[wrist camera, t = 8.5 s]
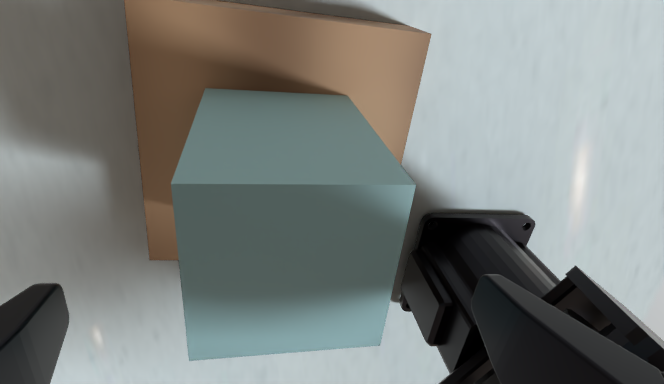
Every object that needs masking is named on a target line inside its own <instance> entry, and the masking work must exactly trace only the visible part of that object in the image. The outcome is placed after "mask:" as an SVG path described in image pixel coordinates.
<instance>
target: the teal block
mask: <svg viewBox="0 0 664 384" xmlns="http://www.w3.org/2000/svg"><path fill="white" fill-rule="evenodd" d="M415 188H416V184H415V183H414V182H413V180H412V179H411V178H410V176H409V175H408V174H407V172H406V171H405V170H404V168H403V167H402V166H401V165H400V163H399V162H398V161H397V159H396V158H395V157H394V155H393V154H392V153H391V152H390V150H389V149H388V148H387V146H386V145H385V144H384V142H383V141H382V140H381V138H380V137H379V136H378V135H377V133H376V132H375V131H374V129H373V128H372V127H371V125H370V124H369V123H368V121H367V120H366V119H365V118H364V116H363V115H362V114H361V112H360V111H359V110H358V108H357V107H356V106H355V105H354V103H353V102H352V101H351V99H350V98H349V97H348V96H346V95H326V94H307V93H288V92H269V91H249V90H230V89H211V88H205V90H204V93H203V96H202V99H201V102H200V104H199V107H198V110H197V113H196V115H195V118H194V121H193V124H192V126H191V129H190V132H189V135H188V138H187V140H186V143H185V146H184V149H183V151H182V154H181V157H180V160H179V162H178V165H177V168H176V171H175V174H174V176H173V179H172V182H171V190H172V200H173V210H174V219H175V229H176V239H177V249H178V258H179V268H180V278H181V287H182V297H183V307H184V316H185V326H186V336H187V346H188V355H189V361H193V360H206V359H218V358H231V357H243V356H255V355H268V354H280V353H292V352H305V351H317V350H330V349H342V348H354V347H367V346H379V345H380V343H381V339H382V334H383V330H384V326H385V321H386V317H387V312H388V308H389V303H390V299H391V294H392V290H393V286H394V281H395V277H396V272H397V268H398V263H399V259H400V254H401V250H402V246H403V241H404V237H405V232H406V228H407V223H408V219H409V215H410V210H411V206H412V201H413V197H414V192H415Z"/></svg>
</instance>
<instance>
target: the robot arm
mask: <svg viewBox="0 0 664 384" xmlns="http://www.w3.org/2000/svg"><path fill="white" fill-rule="evenodd" d="M433 221H435V222H434V223H433V224H432V225H429V223H431V222H433ZM525 223H526V224H525ZM524 224H525V225H524ZM523 225H524V226H523ZM534 227H535V221H534V220H533V219H531V218H530V217H529V216H528V215H499V214H446V213H431V214H427V215H425V216H424V217H423V218H422V220H421V223H420V227H419V231H418V234H417V238H416V242H415V246H414V249H413V250H412V251H411V253H410V254H409V258H408V262H407V266H406V269H405V273H404V277H403V281H402V285H401V289H402V294H401V297H400V305H401V307H402V309H403V310H404V311H408V312H410V311H412V313H413V315H414V317H415V319H416V321H417V324H418V326H419V328H420V330H421V332H422V334H423V337H424V339H425V341H426V342H427V343H428V344H429V345H430V346H437V348H438V350H439V352H440V354H441V356H442V358H443V360H444V362H445V365H446V367H447V369H448V371H449V373H450V375H448V376H447V377H446V378H445V379H444V380H442V381H441V382H440V383H439V384H664V341H663V340H662V339H661V338H659V337H658V336H657V335H656V334H655V333H654V332H653V331H652V330H650V329H649V328H648V327H647V326H646V325H645V324H644V323H643V322H642V321H640V320H639V319H638V318H637V317H636V316H635V315H634V314H633V313H632V312H630V311H629V310H628V309H627V308H626V307H625V306H624V305H622V304H621V303H620V302H619V301H618V300H616V299H615V298H614V297H613V296H612V295H610V294H609V293H608V292H607V291H606V290H604V289H603V288H602V287H601V286H600V285H598V284H597V283H596V282H595V281H594V280H592V279H591V278H590V277H589V276H588V275H586V274H585V273H584V272H583V271H582V270H580V269H579V268H578V267H577V266H575V267H573V268H572V269H571V270H570V271H569V272H568V273H566V276H567V277H565V278H564V279H563V280H562V281H560V280H559V279H558V278H557V277H556V276H555V275H554V274H553V273H552V272H551V271H550V270H549V269H548V268H547V267H546V266H545V265H544V264H543V263H542V262H541V261H540V260H539V259H538V258H537V257H536V256H535V255H534V254H533V253H532V252H531V251H530V250H529V249H528V248H527V247H526V245H527V243H528V241H529V238H530V236H531V234H532V231H533V229H534ZM68 324H69V312H68V308H67V304H66V300H65V296H64V292H63V289H62V287H61V285H59V284H57V283H40V284H34V285H32V286H30V287H29V288H27V289H26V290H24V291H23V292H21V293H19V294H18V295H16V296H15V297H13V298H12V299H10V300H9V301H7V302H6V303H4V304H2V305H1V306H0V384H50V382H51V379H52V376H53V373H54V369H55V366H56V363H57V360H58V357H59V354H60V350H61V347H62V344H63V341H64V338H65V335H66V332H67V328H68Z"/></svg>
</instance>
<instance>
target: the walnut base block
mask: <svg viewBox="0 0 664 384" xmlns="http://www.w3.org/2000/svg"><path fill="white" fill-rule="evenodd" d="M124 5H125V15H126V25H127V35H128V45H129V55H130V65H131V76H132V86H133V96H134V106H135V116H136V126H137V136H138V147H139V157H140V167H141V177H142V187H143V197H144V207H145V217H146V228H147V238H148V248H149V258H150V260H179V258H178V249H177V239H176V229H175V219H174V210H173V200H172V190H171V182H172V179H173V176H174V174H175V171H176V168H177V165H178V162H179V160H180V157H181V154H182V151H183V149H184V146H185V143H186V140H187V138H188V135H189V132H190V129H191V126H192V124H193V121H194V118H195V115H196V113H197V110H198V107H199V104H200V102H201V99H202V96H203V93H204V90H205V88H211V89H230V90H249V91H269V92H288V93H307V94H326V95H346V96H348V97H349V98H350V99H351V101H352V102H353V103H354V105H355V106H356V107H357V108H358V110H359V111H360V112H361V114H362V115H363V116H364V118H365V119H366V120H367V121H368V123H369V124H370V125H371V127H372V128H373V129H374V131H375V132H376V133H377V135H378V136H379V137H380V138H381V140H382V141H383V142H384V144H385V145H386V146H387V148H388V149H389V150H390V152H391V153H392V154H393V155H394V157H395V158H396V159H397V161H398V162H399V163H400V165H401V162H402V158H403V153H404V149H405V145H406V140H407V136H408V132H409V128H410V123H411V119H412V115H413V111H414V106H415V102H416V98H417V93H418V89H419V85H420V81H421V76H422V72H423V68H424V64H425V59H426V55H427V51H428V46H429V42H430V38H431V34H430V33H427V32H424V31H421V30H419V29H416V28H413V27H410V26H407V25H399V24H392V23H384V22H377V21H369V20H362V19H354V18H346V17H339V16H331V15H324V14H316V13H309V12H301V11H294V10H286V9H279V8H271V7H263V6H256V5H248V4H241V3H233V2H226V1H218V0H124Z"/></svg>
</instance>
